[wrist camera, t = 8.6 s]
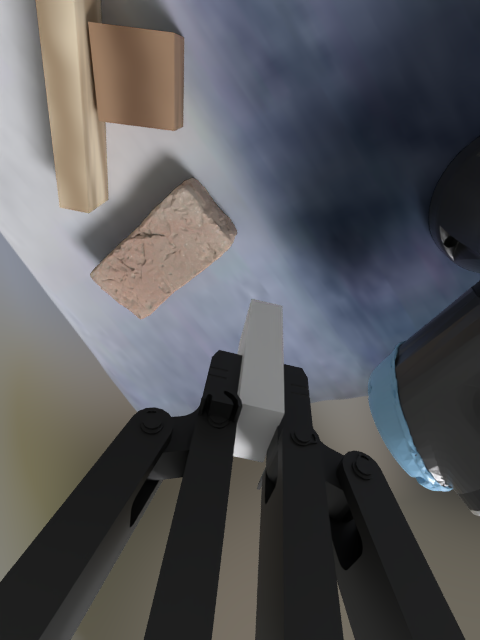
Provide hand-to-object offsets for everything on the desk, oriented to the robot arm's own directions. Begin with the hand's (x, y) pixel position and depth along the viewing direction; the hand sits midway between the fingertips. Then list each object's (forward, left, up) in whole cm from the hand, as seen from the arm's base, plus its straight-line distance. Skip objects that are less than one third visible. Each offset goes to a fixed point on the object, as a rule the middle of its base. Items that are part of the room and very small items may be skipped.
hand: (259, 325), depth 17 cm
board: (+19, -6, -25) cm, 32 cm away
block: (+13, -8, -26) cm, 30 cm away
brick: (+11, +9, -26) cm, 29 cm away
